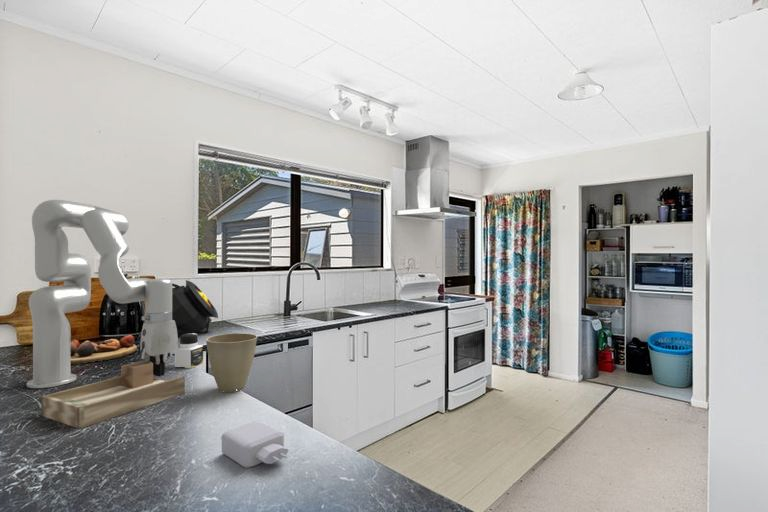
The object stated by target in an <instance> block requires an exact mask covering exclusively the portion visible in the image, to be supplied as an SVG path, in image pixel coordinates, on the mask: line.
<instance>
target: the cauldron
mask: <svg viewBox="0 0 768 512" xmlns="http://www.w3.org/2000/svg"><path fill="white" fill-rule="evenodd" d="M211 318H215V319H219V314H218V311H217V309H216V308H215V306H214V305H213V304H212V302H211V301H210V299H209V298H208V297H207V295H206V294H205V293H204V292H203V291H202V290H201V289H200V288H199V287H198V286H197V285H196V284H195V283H193V282H192V281H190V280H187V279H186V280H185V285H181V286H180V285H178V284H175V283H172V320H174V321H175V324H176V328H177V334H178V333H179V332H180V331H182V332H185V333H186V332H188V333H189V332H190V333H191V332H192V333H195V332H196V333H197V332H200V331H202V330H205V333H208V331H209V328H210V324H211V323H212V319H211Z"/></svg>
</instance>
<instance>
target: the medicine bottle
mask: <svg viewBox="0 0 768 512" xmlns="http://www.w3.org/2000/svg"><path fill="white" fill-rule="evenodd" d="M198 341H199V335H198V333H195V332H192V333H191V332H190V333H189V332H188V333H184V334H182V335H180V337H179V343H180V344H179V346H178V348H177V350H175V351H176V352H175V353H174V368H175V367H185V368H184V369H193V367H194V368H195V367H198V366H200V365H203V364H204V346H203V345H201V344H200V345H199V342H198Z"/></svg>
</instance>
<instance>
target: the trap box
mask: <svg viewBox="0 0 768 512" xmlns="http://www.w3.org/2000/svg"><path fill="white" fill-rule="evenodd" d="M185 378H186V377H185V376H178V377H176V378H172V379H169V380H162V379H158V378H154V377H153V383H151V384H148V385H144V386H141V387H137V388H134V389H132V388H128V387H124V386H121V375H120V376H115V377H113V378H109V379H105V380H100V381H96V382H93V383H89V384H84V385H81V386H77V387H73V388H69V389H65V390H61V391H57V392H54V393H49V394H46V395H41V416H42V417H44V418H47V419H51V420H53V421H55V422H56V421H57V422H58V423H61V424H64V425H66V426H70V427H73V428H76V429H83V428H87V427H88V426H92V425H95V424H98V423H101V422H104V421H107V420H110V419H113V418H115V417H118V416H122V415H124V414H127V413H130V412H134V411H136V410H139V409H143V408H145V407H148V406H151V405H154V404H157V403H160V402H162V401H166V400H169V399H172V398H175V397H178V396H181V395H183V394H185V393H186V389H185V387H186V381H185V380H186V379H185Z"/></svg>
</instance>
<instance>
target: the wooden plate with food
mask: <svg viewBox="0 0 768 512" xmlns="http://www.w3.org/2000/svg"><path fill="white" fill-rule="evenodd" d="M135 343H136V342H135V337H134V336H133V335H132V334H127V335H124V336H123V337H121V338H119V340H118V339H116V338H110V339H107V340H106V339H105V340H102V341H97V342H94V341H90V340H85V341H84V342H82V343H81V344H80V341H79V340H77V339H76V338H73V339H71V364H72V365H79V364H80V365H82V364H81V363H83V364H89V363H88V362H91V363H96V362H95V361H98V362H103V360H104V361H107V360H108V361H109V360H113V359H117V358H122V357H125V356H128V355H131V354H133V353H135V352H136V351H137V349H138V347H137V345H136V344H135Z"/></svg>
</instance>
